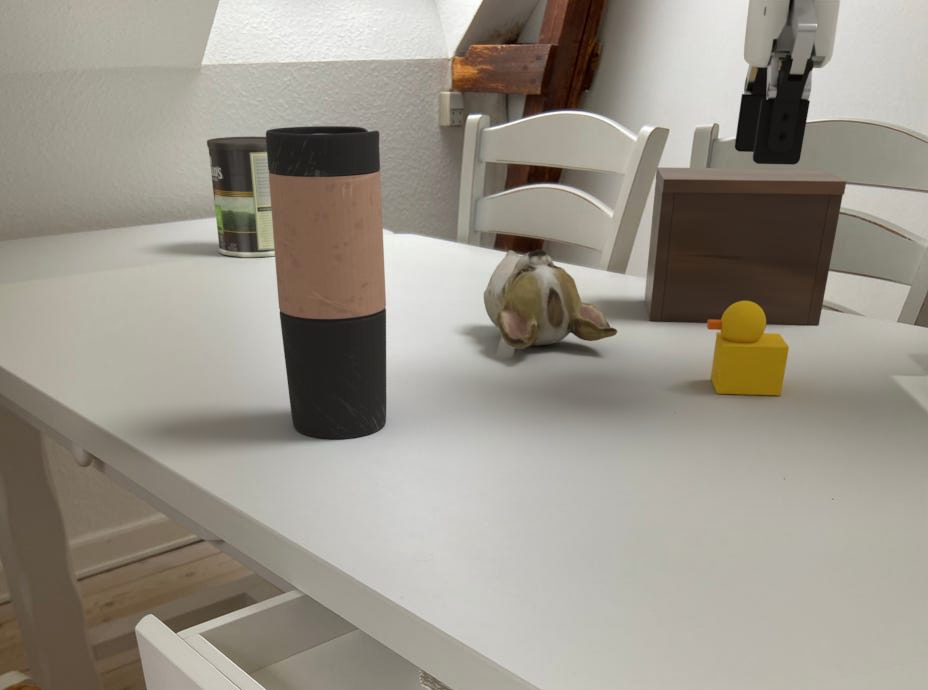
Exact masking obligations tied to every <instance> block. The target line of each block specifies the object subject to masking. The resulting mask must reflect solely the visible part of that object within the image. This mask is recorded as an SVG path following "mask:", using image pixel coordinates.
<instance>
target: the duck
mask: <svg viewBox="0 0 928 690" xmlns="http://www.w3.org/2000/svg"><path fill="white" fill-rule="evenodd" d="M766 326H767V324H766V317H765V314H764V312H763V310H762V308H761V307H760V306H759V305H757V304H756V303H754V302H751V301H739V302H736V303H734V304H732V305H731V306H729V307H728V308H727V309H726V311H725V312H724V314H723V316H722V318H721V320H713V319H708V322H706V327H707V329H708V330H713V331H715V330H717V331H716V336H715V342H714V343H715V344H714V351H713V359H712V366H711V373H710V380H711V383H712V385H713V388H714V391H715V393H716V394H717V395H743V396H744V395H747V396H749V395H750V396H778V397H779V396H781V395H782V390H783V386H784V385H783V384H784V379H785V374H786V373H785V372H786V367H787V360H788V355H789V349H790V347H789V344H787V342H786V341H785V339H784V338H783V337H782V335H781V334H780V333H773V332H771V333H770V332H765V331H766ZM718 330H719V331H718Z"/></svg>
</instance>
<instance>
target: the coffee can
mask: <svg viewBox="0 0 928 690" xmlns="http://www.w3.org/2000/svg"><path fill="white" fill-rule="evenodd" d="M206 145H207V149H208V155H209V156H208V157H209V165H210V175H211V183H212V193H213V203H214V209H215V219H216V220H215V221H216V227H217V228H216V229H217V237H218V252H219V253H220V254H221V255H222V256H227V257H233V258H246V259H249V258H251V259H253V258H269V257H271V258H272V257H275V249H274V236H273V223H272V210H271V197H270V185H269V170H268V159H267V146H266V136H226V137H215V138H210V139H208V140H206Z"/></svg>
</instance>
